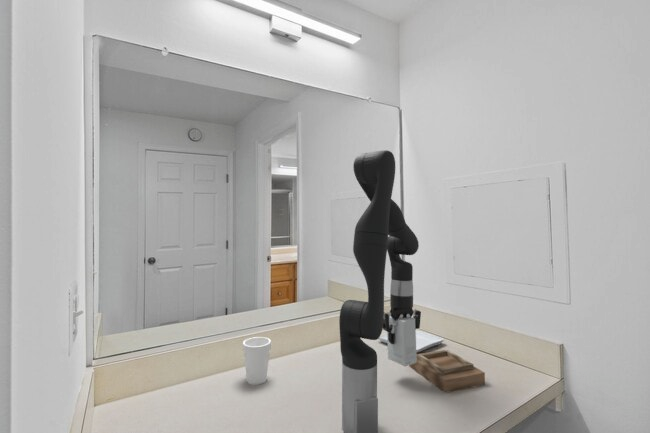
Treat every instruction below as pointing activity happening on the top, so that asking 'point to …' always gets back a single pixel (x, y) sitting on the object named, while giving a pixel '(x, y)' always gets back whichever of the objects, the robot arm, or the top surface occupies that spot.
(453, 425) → the top surface
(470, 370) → the block
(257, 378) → the foam cup
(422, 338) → the salad plate
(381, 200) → the robot arm
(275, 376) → the top surface
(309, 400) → the top surface
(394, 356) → the skincare box
